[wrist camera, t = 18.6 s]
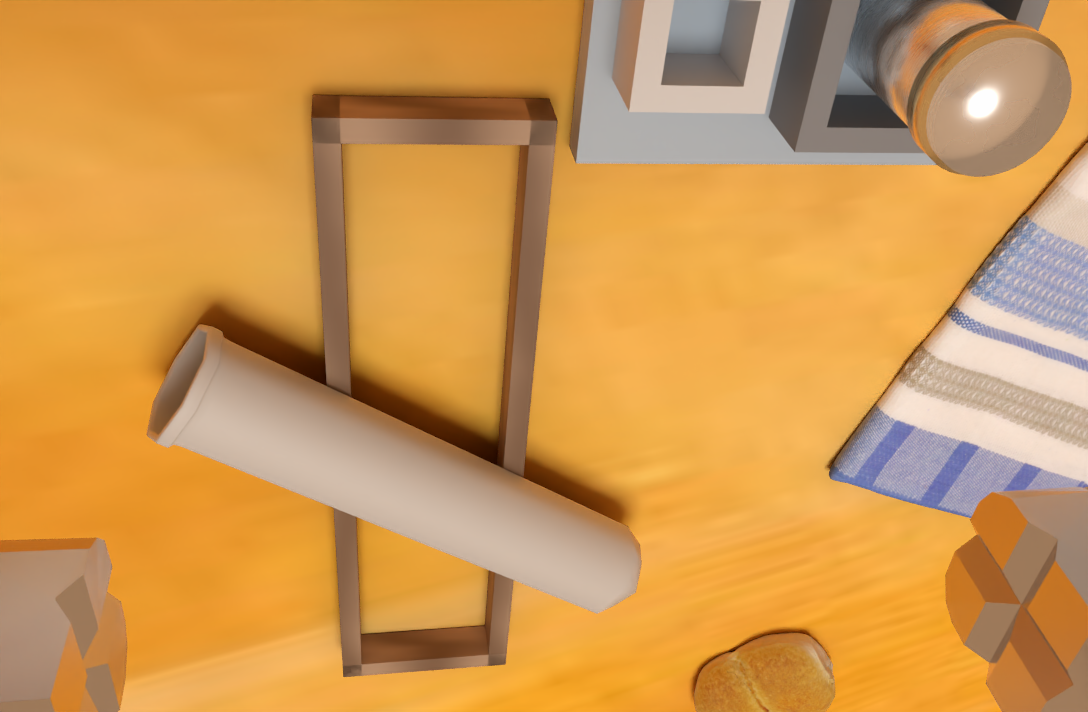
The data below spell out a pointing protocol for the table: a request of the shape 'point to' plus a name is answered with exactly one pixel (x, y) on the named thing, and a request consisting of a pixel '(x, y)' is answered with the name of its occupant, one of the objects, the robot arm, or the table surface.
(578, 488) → the table surface
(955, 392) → the dish towel
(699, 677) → the bread roll
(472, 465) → the tube
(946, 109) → the clear cylindrical piece
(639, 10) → the plate
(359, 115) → the tube tray
